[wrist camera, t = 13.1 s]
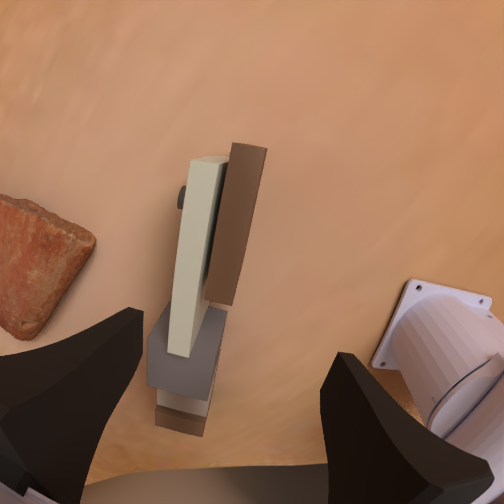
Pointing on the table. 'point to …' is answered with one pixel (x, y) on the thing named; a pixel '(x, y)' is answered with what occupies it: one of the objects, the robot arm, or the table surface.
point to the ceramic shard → (36, 263)
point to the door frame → (220, 272)
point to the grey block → (182, 368)
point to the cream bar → (195, 250)
